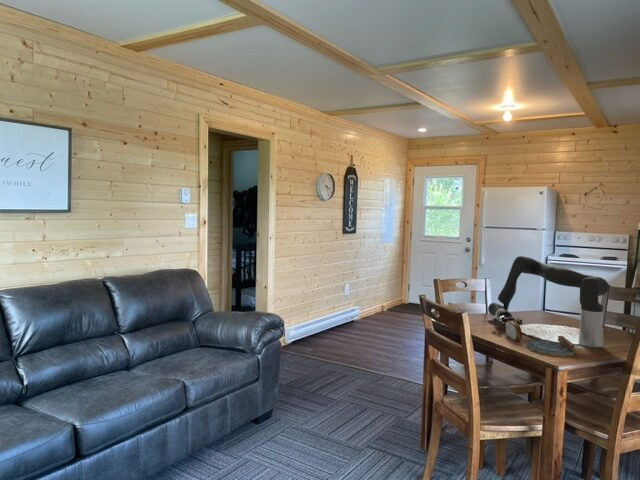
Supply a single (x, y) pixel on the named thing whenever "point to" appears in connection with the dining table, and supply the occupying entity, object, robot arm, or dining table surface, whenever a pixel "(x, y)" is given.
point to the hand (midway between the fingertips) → (510, 323)
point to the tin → (513, 330)
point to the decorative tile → (549, 348)
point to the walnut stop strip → (566, 343)
